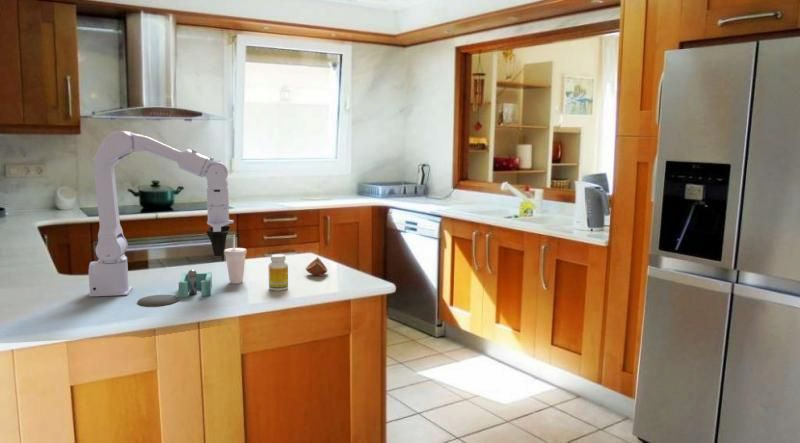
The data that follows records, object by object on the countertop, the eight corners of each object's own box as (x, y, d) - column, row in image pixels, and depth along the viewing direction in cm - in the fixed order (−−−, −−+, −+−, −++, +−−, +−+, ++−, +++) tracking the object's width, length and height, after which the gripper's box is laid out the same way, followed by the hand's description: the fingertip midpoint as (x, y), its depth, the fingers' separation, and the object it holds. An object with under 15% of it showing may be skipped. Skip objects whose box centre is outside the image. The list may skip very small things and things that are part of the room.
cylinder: (187, 295, 171) (186, 271, 170) (188, 293, 173) (187, 269, 172) (197, 294, 171) (196, 270, 170) (197, 292, 174) (197, 268, 173)
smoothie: (238, 278, 191) (237, 232, 189) (251, 281, 187) (250, 235, 185) (220, 282, 186) (219, 235, 184) (233, 285, 182) (232, 237, 180)
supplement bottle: (266, 287, 180) (265, 254, 179) (284, 285, 183) (284, 252, 181) (272, 291, 175) (271, 258, 174) (290, 289, 178) (290, 256, 177)
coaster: (134, 307, 159) (134, 305, 159) (141, 297, 168) (141, 295, 168) (176, 305, 161) (176, 303, 161) (180, 295, 171) (180, 293, 171)
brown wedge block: (327, 278, 192) (327, 262, 191) (305, 278, 192) (304, 262, 191) (327, 272, 200) (327, 256, 200) (306, 272, 200) (306, 257, 199)
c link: (179, 297, 169) (178, 282, 168) (182, 287, 179) (182, 273, 179) (210, 295, 171) (209, 281, 170) (212, 285, 181) (211, 272, 180)
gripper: (231, 208, 169) (233, 257, 171) (234, 201, 183) (235, 248, 185) (204, 208, 167) (205, 258, 169) (208, 202, 181) (210, 248, 183)
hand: (219, 253), depth 177 cm, fingers open, 7 cm apart
